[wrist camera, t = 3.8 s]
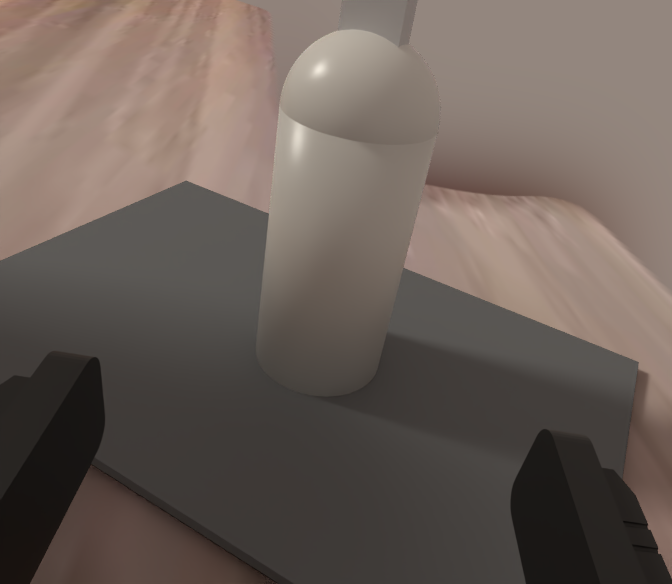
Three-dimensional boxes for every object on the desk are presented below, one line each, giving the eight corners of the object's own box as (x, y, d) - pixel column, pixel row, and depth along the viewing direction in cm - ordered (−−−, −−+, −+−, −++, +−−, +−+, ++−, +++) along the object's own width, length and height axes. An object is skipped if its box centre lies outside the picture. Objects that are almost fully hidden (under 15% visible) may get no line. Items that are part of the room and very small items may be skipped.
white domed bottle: (229, 359, 21) (256, -30, 14) (297, 301, 24) (344, -32, 18) (343, 416, 19) (433, 13, 13) (397, 346, 23) (491, 2, 16)
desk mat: (-126, 325, 20) (-129, 316, 20) (185, 187, 32) (186, 180, 32) (574, 772, 12) (581, 765, 12) (634, 369, 25) (638, 362, 25)
